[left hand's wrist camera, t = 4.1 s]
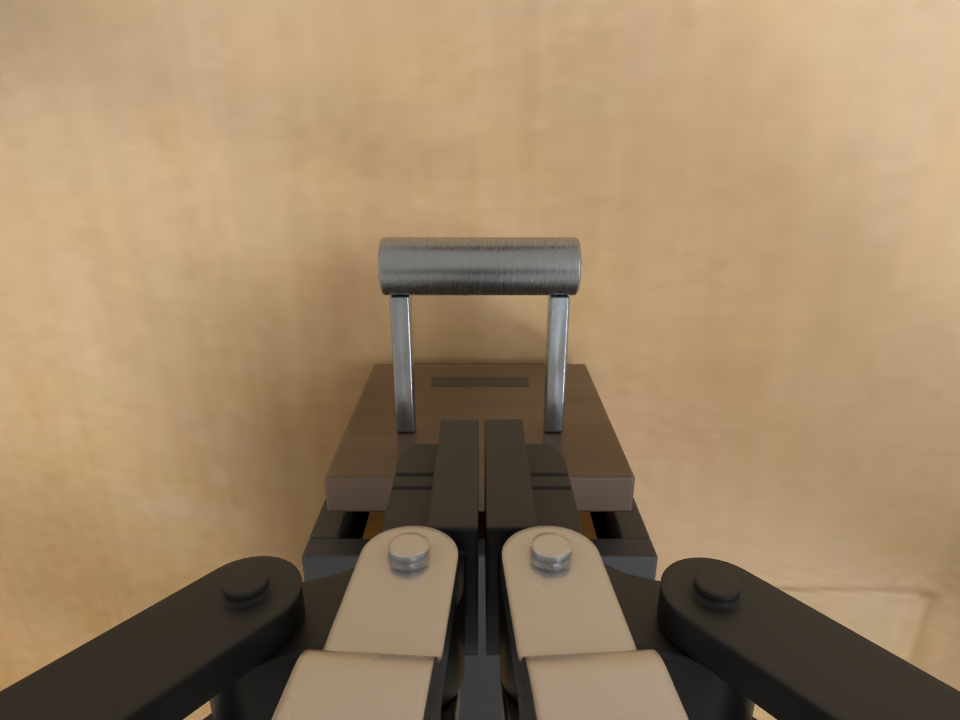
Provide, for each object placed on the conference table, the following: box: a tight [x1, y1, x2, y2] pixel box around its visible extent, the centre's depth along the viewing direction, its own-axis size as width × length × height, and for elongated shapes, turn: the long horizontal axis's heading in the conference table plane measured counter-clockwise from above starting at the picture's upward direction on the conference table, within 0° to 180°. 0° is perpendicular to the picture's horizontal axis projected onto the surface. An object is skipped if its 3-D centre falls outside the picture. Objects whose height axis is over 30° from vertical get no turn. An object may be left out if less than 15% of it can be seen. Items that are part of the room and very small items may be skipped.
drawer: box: [325, 238, 635, 539], centre depth 25 cm, size 26×9×9 cm, turn 0°
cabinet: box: [302, 497, 658, 720], centre depth 27 cm, size 21×10×11 cm, turn 0°
